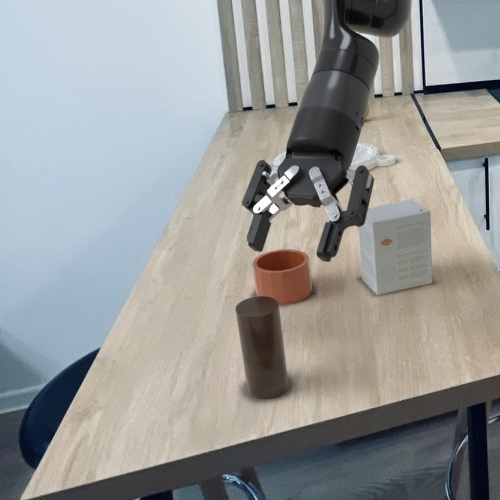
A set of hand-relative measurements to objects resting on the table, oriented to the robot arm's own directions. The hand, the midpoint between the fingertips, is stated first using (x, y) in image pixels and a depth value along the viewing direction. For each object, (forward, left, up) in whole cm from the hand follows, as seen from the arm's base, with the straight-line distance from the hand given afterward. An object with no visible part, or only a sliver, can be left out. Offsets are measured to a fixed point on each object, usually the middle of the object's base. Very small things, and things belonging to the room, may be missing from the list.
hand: (287, 254), depth 70 cm
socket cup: (+10, -13, -13) cm, 21 cm away
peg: (0, +7, -13) cm, 15 cm away
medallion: (+32, -71, -13) cm, 79 cm away
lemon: (+44, -110, -13) cm, 119 cm away
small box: (-3, -21, -13) cm, 25 cm away
